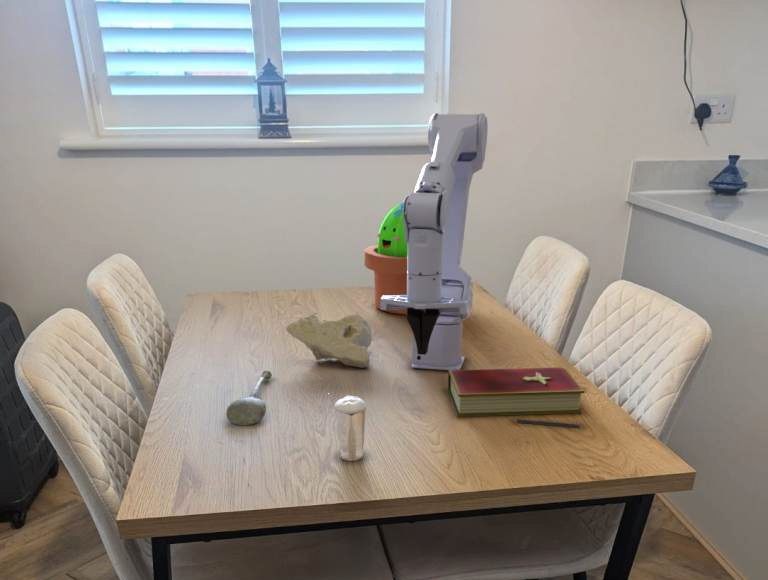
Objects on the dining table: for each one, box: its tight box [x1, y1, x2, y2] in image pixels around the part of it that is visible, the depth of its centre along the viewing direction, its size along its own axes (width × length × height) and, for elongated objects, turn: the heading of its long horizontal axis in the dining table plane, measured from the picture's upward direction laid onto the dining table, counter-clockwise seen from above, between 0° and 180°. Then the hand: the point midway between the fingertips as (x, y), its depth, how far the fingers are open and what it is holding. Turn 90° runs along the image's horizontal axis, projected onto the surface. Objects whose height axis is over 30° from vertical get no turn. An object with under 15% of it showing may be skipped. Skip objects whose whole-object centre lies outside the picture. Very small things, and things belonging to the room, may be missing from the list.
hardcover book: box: [447, 366, 585, 418], centre depth 124 cm, size 12×21×4 cm, turn 93°
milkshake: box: [327, 393, 367, 462], centre depth 104 cm, size 4×5×10 cm
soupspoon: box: [225, 370, 272, 427], centre depth 125 cm, size 22×3×7 cm
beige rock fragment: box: [285, 312, 373, 369], centre depth 143 cm, size 15×7×15 cm
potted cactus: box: [363, 202, 445, 315], centre depth 174 cm, size 22×22×25 cm
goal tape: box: [516, 419, 581, 429], centre depth 124 cm, size 10×18×1 cm, turn 167°
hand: (422, 352), depth 124 cm, fingers closed
